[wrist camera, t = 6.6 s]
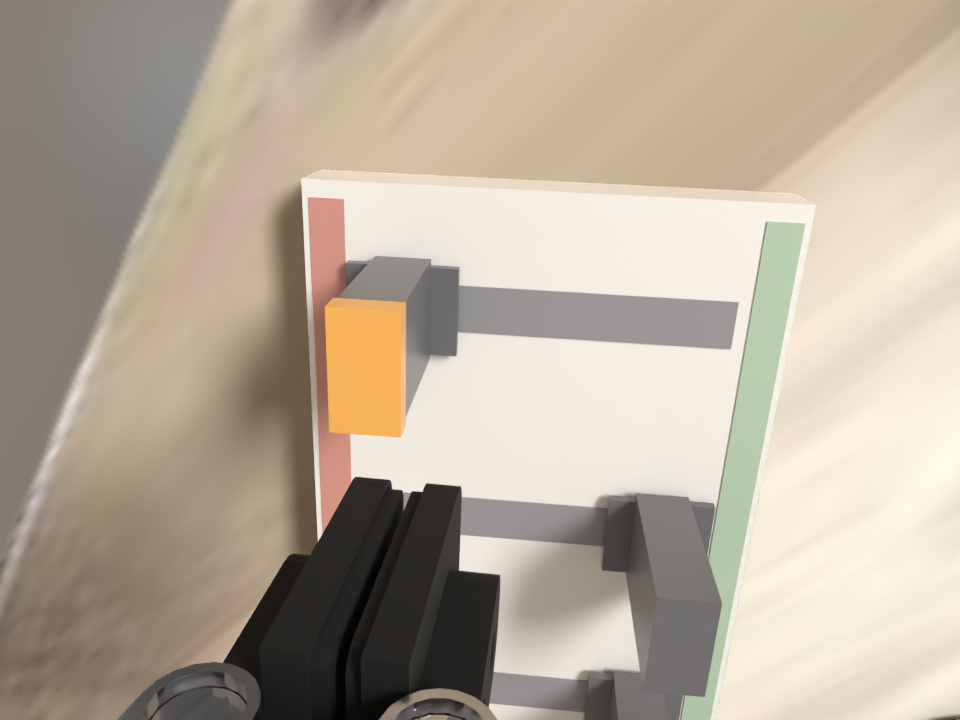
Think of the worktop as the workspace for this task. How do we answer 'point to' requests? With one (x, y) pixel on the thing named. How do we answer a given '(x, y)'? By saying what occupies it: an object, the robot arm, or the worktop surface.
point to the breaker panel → (571, 389)
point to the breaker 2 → (627, 699)
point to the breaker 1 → (666, 586)
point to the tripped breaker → (386, 340)
